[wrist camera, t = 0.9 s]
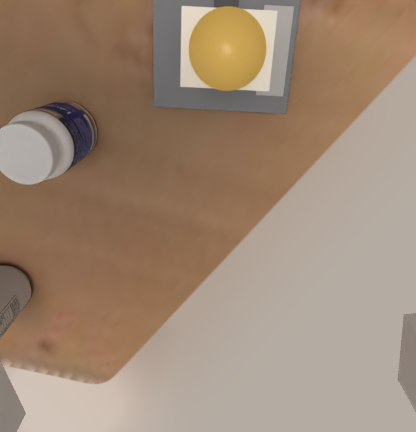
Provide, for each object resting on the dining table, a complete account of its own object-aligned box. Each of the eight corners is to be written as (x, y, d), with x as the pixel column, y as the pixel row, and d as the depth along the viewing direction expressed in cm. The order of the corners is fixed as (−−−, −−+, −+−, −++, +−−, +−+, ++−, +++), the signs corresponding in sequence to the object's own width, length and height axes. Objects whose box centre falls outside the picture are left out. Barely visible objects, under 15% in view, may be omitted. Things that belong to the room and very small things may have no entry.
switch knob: (250, 76, 33) (271, 93, 20) (193, 73, 33) (178, 88, 20) (255, 25, 31) (280, 9, 19) (194, 22, 31) (179, 3, 19)
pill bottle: (84, 92, 36) (39, 107, 27) (107, 149, 38) (72, 181, 29) (30, 109, 37) (-32, 129, 28) (55, 164, 39) (6, 199, 30)
